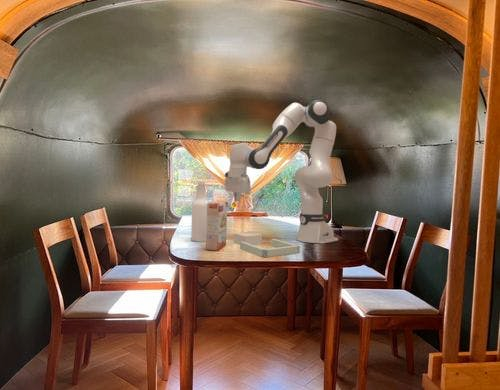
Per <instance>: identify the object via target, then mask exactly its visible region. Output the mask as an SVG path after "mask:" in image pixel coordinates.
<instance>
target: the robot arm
mask: <svg viewBox="0 0 500 390" xmlns="http://www.w3.org/2000/svg"><path fill="white" fill-rule="evenodd" d="M329 108H330V107H329V104H328V103H327V102H326V101H325V100H323V99H316V100H313V101H311V102H310V103H309V104H308V105H307V106H303V105H302V104H301V103H299V102H293V103H290V104H289V105H288V106H287V107H285V109H283V111H281V113H279V115H278V116H277V118H276V119H275V120H274V122H273V123H272V126H271V127H272V132H271V134H269V135H268V137H267V138H266V140H265V141H264V142H263V143H262V144H261V146H259V147H256V148H254V147H251V145H249V144H247V143H246V142H236V143H235V142H234V143H233V144H232V145H231V147H230V151H229V170H228V171H226V172H225V173H224V179H225V180H224V190H225V192H229V193H232V196H233V201H234V202H238V203H239V202H240V201H241V196H242V194H250V193H251V191H252V190H251V187H252V186H251V179H250V177H249V176H248V175H249V174H247V172H248V171H247V170H248V169H247V168H251V169H256V170H262V169H264V168H267V166H268V164H269V163H270V161H271V160H270V159H271V157H272V155H273V153H274V152H275V150H277V148H278V146H279V145H280V144H281V143H282V142H283V140H285V139H286V138H287V137H290V135H291V134H292V133H294V131H295V130H296V129H297V128H298V127H299V125H300V124H301V125H303V126H305V127H307V128H311V129H312V128H314V135H313V137H312V140H311V144H310V147H309V151H308V154H309V155H310V165H305V166H302V167H299V168H298V169H296V171H295V172H294V181H295V182H296V183H297V185H298V188H299V192H300V201H301V202H300V213H299V222H300V223H299V228H298V234H297V238H296V240H297V241H298V242H303V243H309V244H310V243H312V244H313V243H314V244H326V243H333V242H337V241H339V238H338V237H335V236H334V235H335V233H334V232H335V231H334V229H333V227H331V226H330V224H328V223H327V222H326V221H325V219H328V218H329V215H328V214H323V205H324V203H323V202H324V201H323V197H322V196H321V194H320V191H319V188H324V187H327V186H329V185H331V184H332V183H333V179H334V173H333V171H332V169H331V163H330V162H331V161H330V160H331V155H332V151H333V147H334V145H335V141H336V140H335V139H336V136H337V135H336V134H337V125H336V123H335V122H334V121H332V120H330V119H331V114H330V109H329Z"/></svg>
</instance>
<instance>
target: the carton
mask: <svg viewBox="0 0 500 390" xmlns="http://www.w3.org/2000/svg"><path fill="white" fill-rule="evenodd" d="M240 242H245V243H248V244H251V245H254V246H258V245H259V244H260V245H262V244H263V234H261V233H258V232H253V231H243V232H242V231H239V232H234V233H233V244H236V243H237V245H240ZM260 245H259V246H260Z"/></svg>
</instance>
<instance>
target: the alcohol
mask: <svg viewBox="0 0 500 390" xmlns="http://www.w3.org/2000/svg"><path fill="white" fill-rule="evenodd" d="M196 187H197V188H196V194H195V195H196V197H195V199H194V200H193V202H192V204H191V236H190V237H191V241H192V242H195V243H205V242H206V234H207V204H208V203H210V202H209V201H208V200H207V197H206V193H207V192H206V180H197V186H196Z"/></svg>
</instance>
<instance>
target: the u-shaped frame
mask: <svg viewBox="0 0 500 390" xmlns="http://www.w3.org/2000/svg"><path fill="white" fill-rule="evenodd" d="M270 245H271V246H274V248H263V247H260V246H258V245H251V244H248V243H245V242H240V244H239V249H240V248H241V249H240V250H243V251H245V250H246V252H248V253H251V254H254V255H256V256H259V257H262V258H264V259H265V258H270V257H278V256H288V255H294V254H300V251H301V247H300V245H297V244H293V243H291V242H288V241H284V240H280V239H276V238H271V240H270Z"/></svg>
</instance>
